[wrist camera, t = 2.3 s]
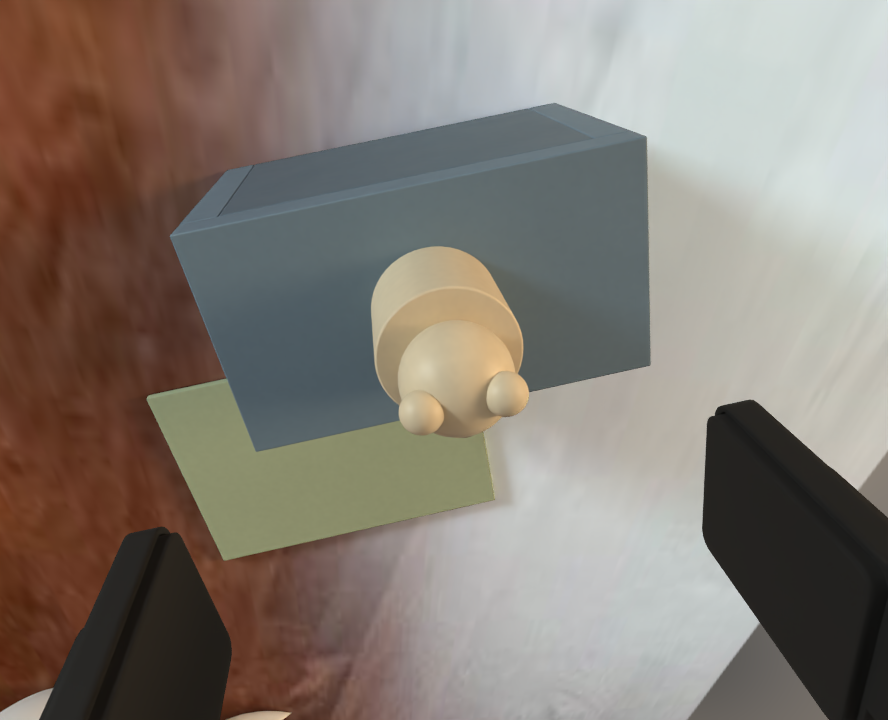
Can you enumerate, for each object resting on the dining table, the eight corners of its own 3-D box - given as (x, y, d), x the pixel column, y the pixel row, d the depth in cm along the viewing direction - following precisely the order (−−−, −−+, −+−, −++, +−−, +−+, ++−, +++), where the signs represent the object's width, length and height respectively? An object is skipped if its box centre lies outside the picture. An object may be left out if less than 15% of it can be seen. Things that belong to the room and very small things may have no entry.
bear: (489, 233, 24) (545, 317, 17) (507, 361, 27) (562, 480, 20) (357, 261, 24) (359, 357, 17) (389, 387, 27) (402, 516, 20)
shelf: (555, 102, 34) (647, 135, 23) (569, 274, 39) (651, 366, 28) (226, 170, 33) (168, 235, 23) (282, 335, 38) (255, 453, 28)
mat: (464, 326, 39) (465, 330, 39) (493, 495, 46) (495, 500, 46) (148, 395, 39) (145, 399, 38) (225, 556, 46) (223, 561, 45)
